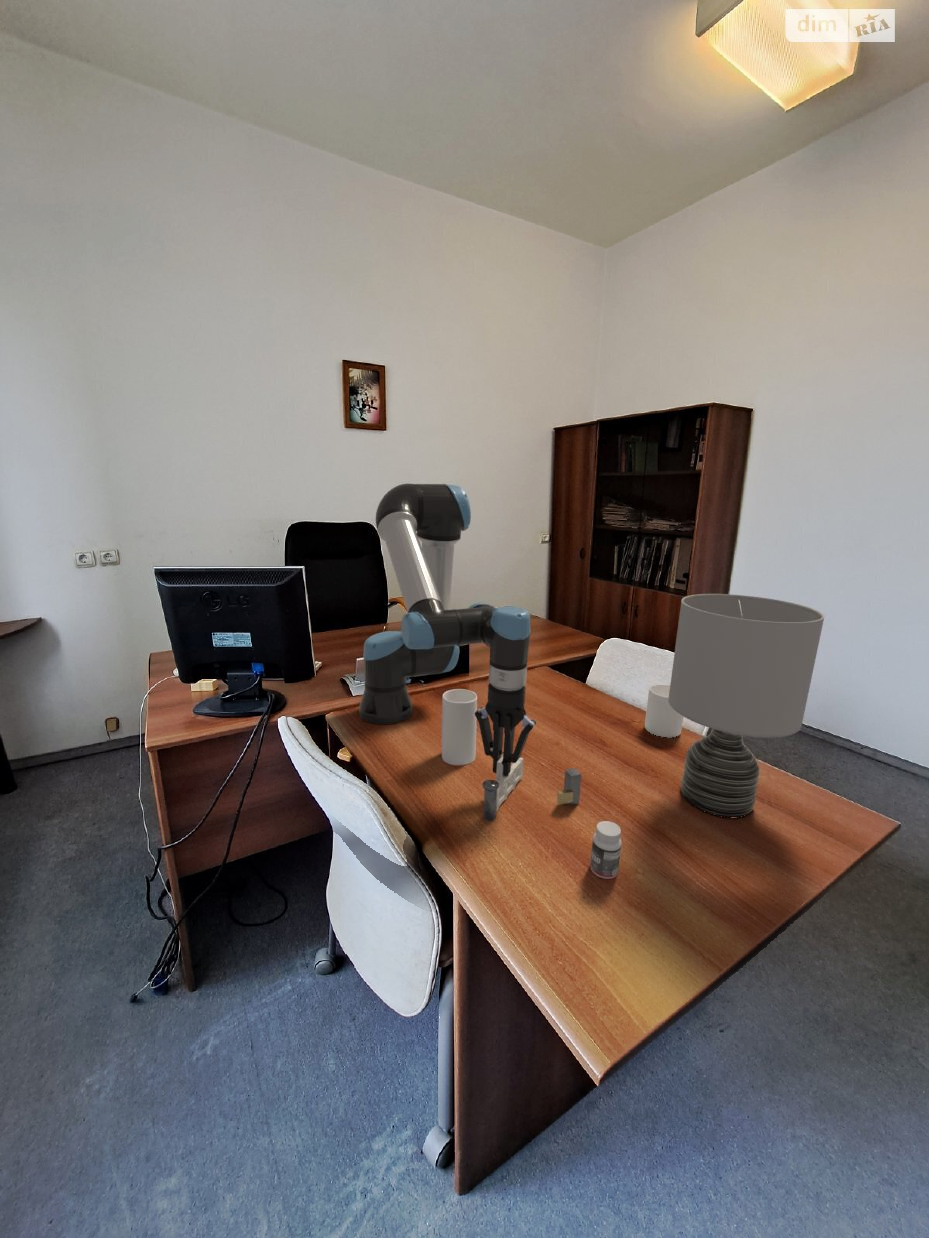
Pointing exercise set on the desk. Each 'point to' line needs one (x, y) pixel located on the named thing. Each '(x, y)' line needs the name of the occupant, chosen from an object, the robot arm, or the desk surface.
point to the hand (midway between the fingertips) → (500, 786)
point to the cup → (459, 726)
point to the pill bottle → (606, 850)
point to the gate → (509, 782)
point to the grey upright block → (570, 788)
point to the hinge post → (490, 799)
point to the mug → (662, 713)
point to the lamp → (739, 688)
